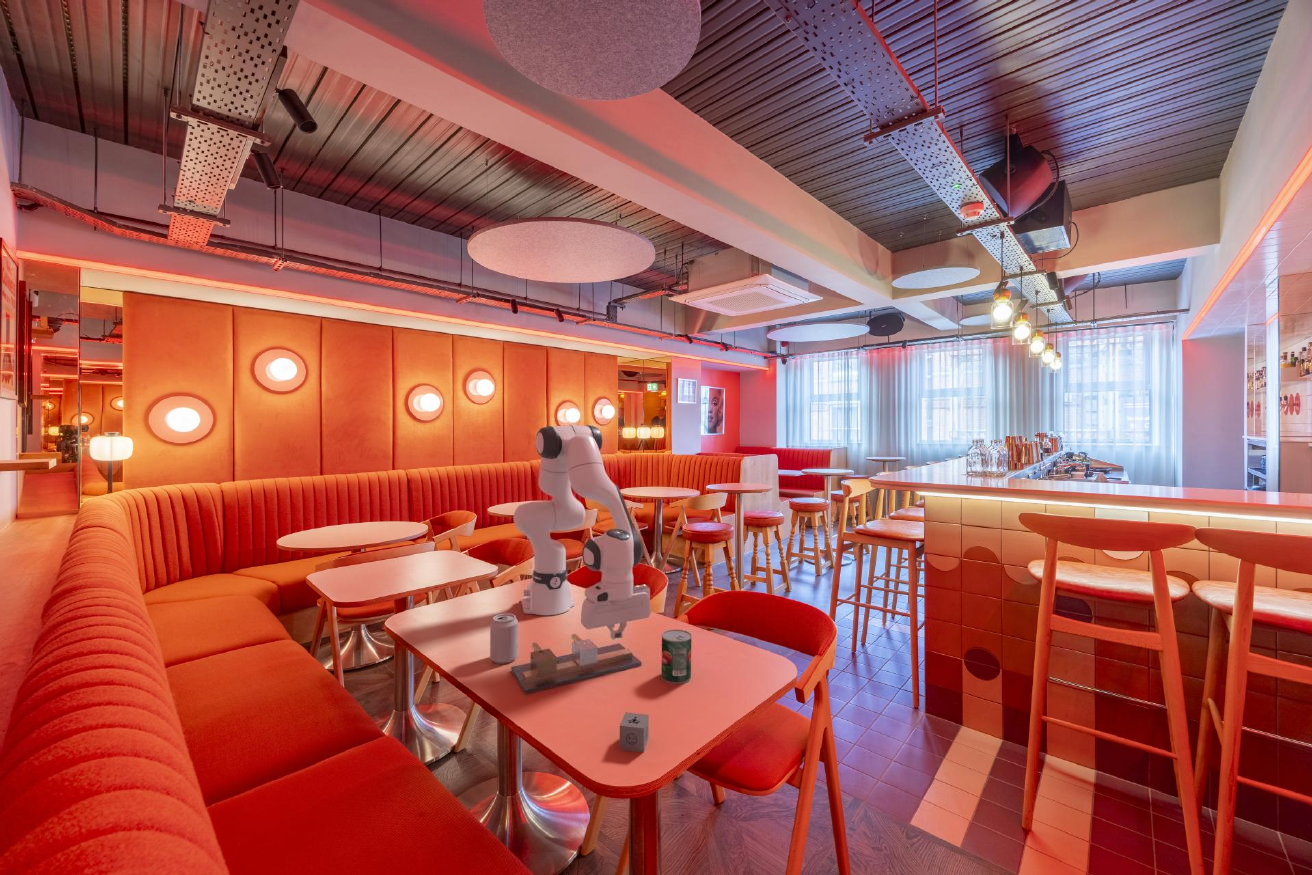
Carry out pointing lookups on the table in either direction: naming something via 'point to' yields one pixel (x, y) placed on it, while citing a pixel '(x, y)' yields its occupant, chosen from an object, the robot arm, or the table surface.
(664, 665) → the canned tomato
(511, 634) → the can
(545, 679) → the bolt plate
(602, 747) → the table surface
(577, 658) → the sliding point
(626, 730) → the dice cube
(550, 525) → the robot arm
